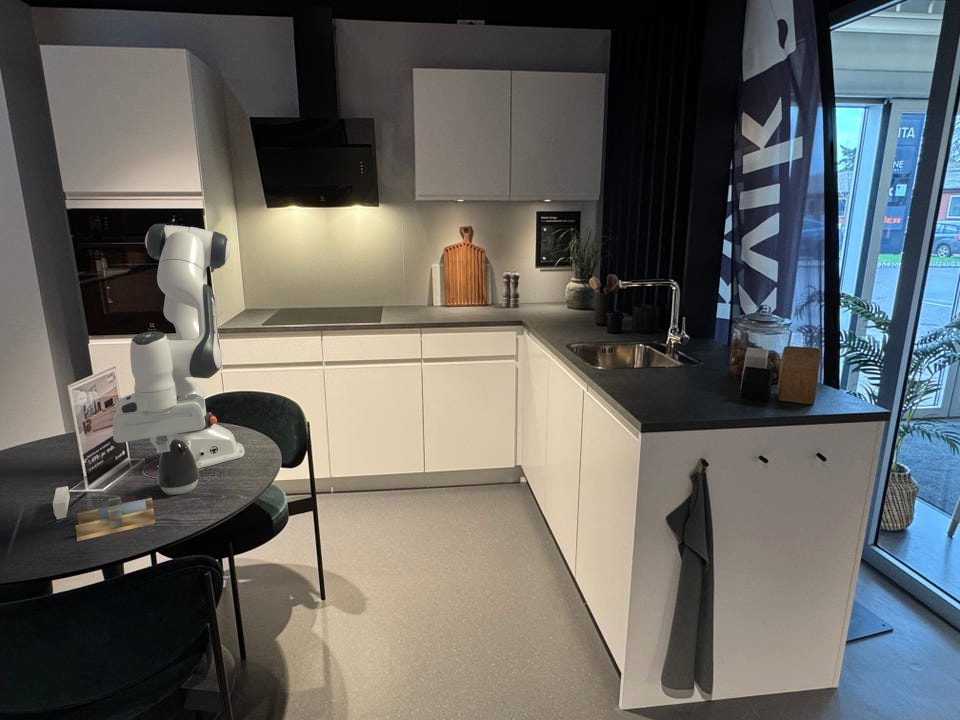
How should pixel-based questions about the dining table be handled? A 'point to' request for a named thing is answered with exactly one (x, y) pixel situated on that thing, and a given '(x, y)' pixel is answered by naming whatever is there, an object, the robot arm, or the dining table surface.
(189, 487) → the dark grey egg shape
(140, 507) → the light blue block
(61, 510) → the tie bar
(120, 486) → the dining table surface
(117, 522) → the brown low boxy piece
